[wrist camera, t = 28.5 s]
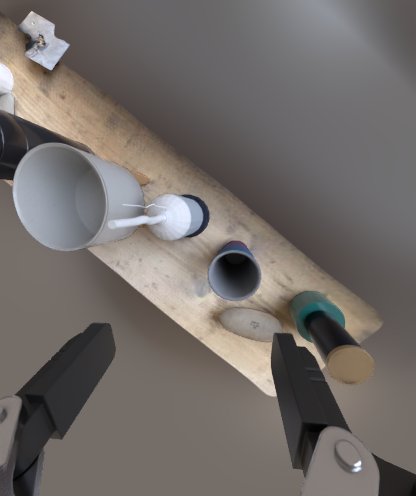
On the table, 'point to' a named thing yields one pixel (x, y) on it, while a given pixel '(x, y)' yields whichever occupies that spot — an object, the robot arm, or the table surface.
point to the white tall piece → (170, 217)
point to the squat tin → (312, 309)
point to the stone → (251, 324)
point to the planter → (75, 197)
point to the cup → (234, 272)
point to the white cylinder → (5, 80)
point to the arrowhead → (7, 102)
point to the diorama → (42, 41)
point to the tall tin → (338, 349)
